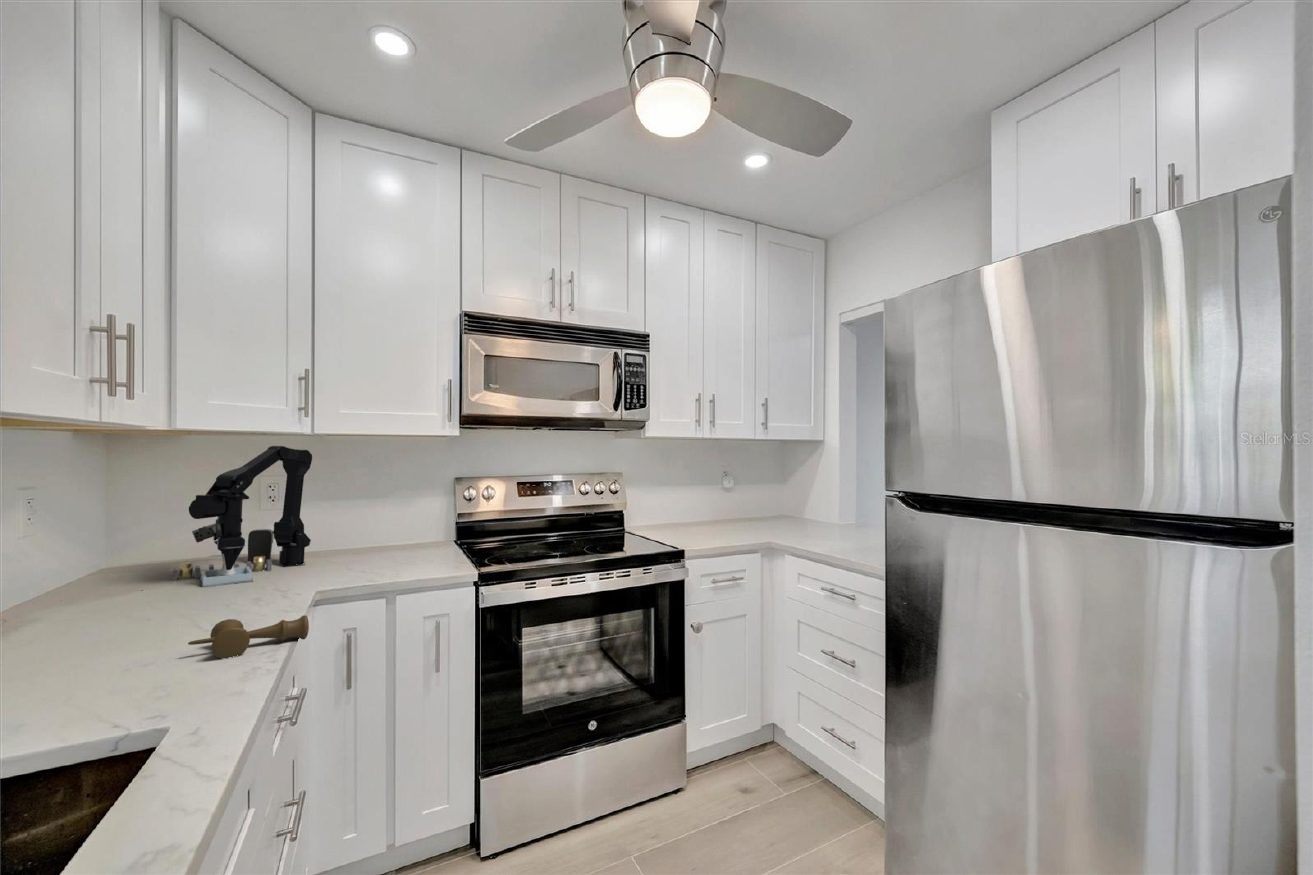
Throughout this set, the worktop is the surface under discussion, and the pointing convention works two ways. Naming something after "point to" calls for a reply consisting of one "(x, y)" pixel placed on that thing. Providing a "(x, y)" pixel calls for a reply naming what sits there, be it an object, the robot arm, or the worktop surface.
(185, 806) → the worktop surface
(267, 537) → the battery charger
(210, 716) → the worktop surface
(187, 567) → the brass peg
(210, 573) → the tray
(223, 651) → the kendama
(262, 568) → the brass peg
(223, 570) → the rook chess piece
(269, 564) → the grey small pieces
